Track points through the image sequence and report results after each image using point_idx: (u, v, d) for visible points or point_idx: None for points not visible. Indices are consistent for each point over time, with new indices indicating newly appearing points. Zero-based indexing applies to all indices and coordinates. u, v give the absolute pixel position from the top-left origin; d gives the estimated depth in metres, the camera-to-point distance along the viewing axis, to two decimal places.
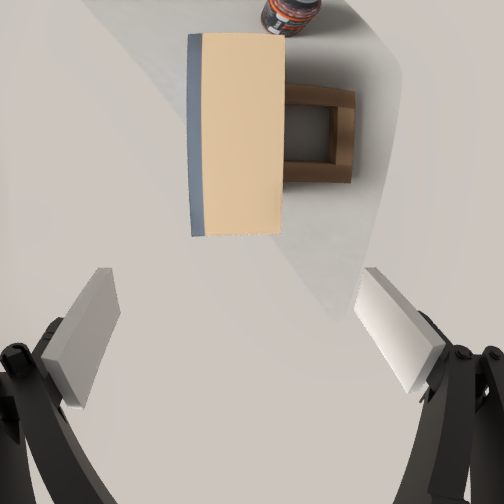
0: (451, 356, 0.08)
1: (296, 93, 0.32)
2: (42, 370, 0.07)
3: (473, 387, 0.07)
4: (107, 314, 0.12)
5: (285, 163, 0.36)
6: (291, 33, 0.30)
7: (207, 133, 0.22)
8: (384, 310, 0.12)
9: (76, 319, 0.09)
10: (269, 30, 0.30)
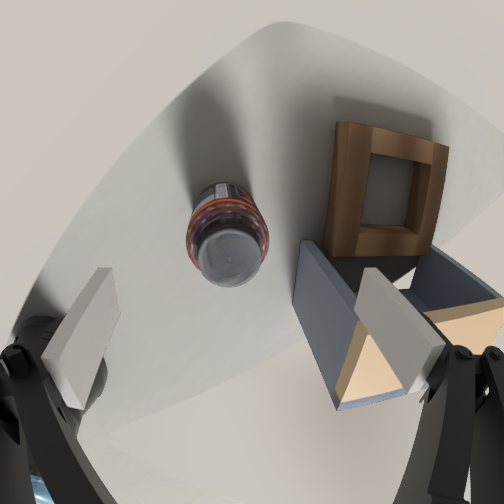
0: (451, 356, 0.08)
1: (351, 209, 0.26)
2: (42, 370, 0.07)
3: (473, 387, 0.07)
4: (107, 314, 0.12)
5: (421, 226, 0.28)
6: None
7: None
8: (384, 310, 0.12)
9: (76, 319, 0.09)
10: None
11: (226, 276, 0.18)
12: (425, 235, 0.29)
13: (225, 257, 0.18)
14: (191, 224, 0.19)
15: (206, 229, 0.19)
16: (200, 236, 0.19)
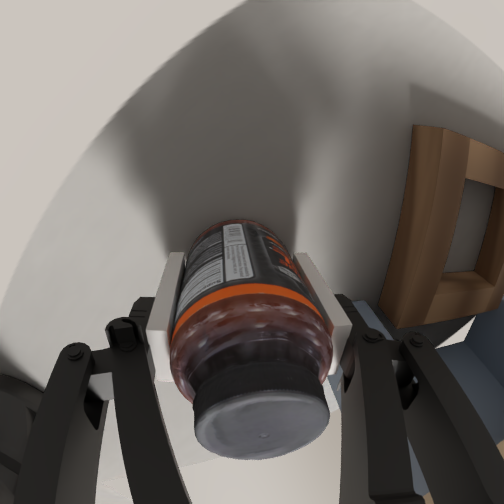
0: (359, 342, 0.09)
1: (431, 264, 0.16)
2: None
3: (392, 371, 0.08)
4: None
5: (499, 275, 0.17)
6: None
7: None
8: None
9: (170, 295, 0.11)
10: None
11: (255, 451, 0.08)
12: (500, 286, 0.18)
13: (255, 433, 0.07)
14: (177, 341, 0.09)
15: (211, 365, 0.08)
16: (197, 375, 0.08)
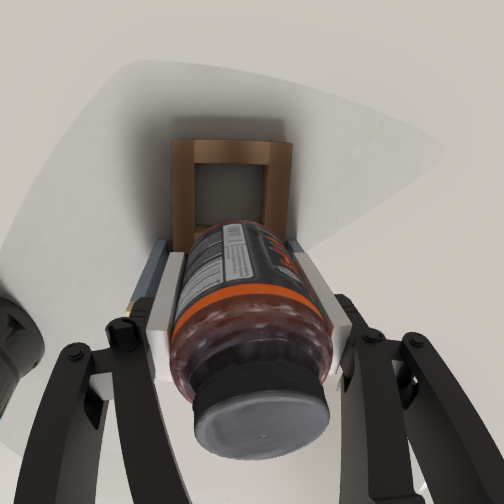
0: (359, 342, 0.09)
1: (182, 213, 0.32)
2: None
3: (392, 371, 0.08)
4: None
5: (265, 225, 0.33)
6: None
7: None
8: None
9: (170, 295, 0.11)
10: None
11: (255, 452, 0.07)
12: None
13: (255, 433, 0.07)
14: (177, 342, 0.09)
15: (210, 366, 0.08)
16: (197, 375, 0.08)
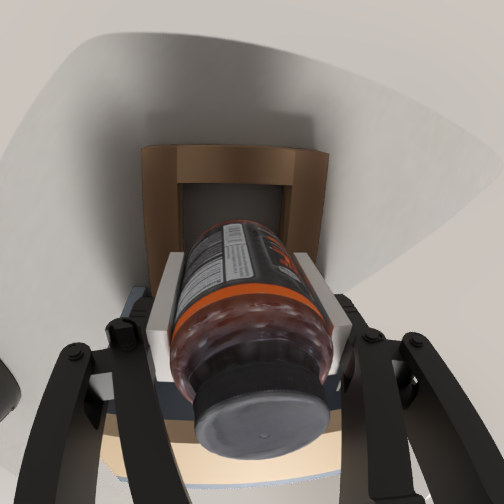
0: (359, 342, 0.09)
1: (162, 258, 0.21)
2: None
3: (392, 371, 0.08)
4: None
5: None
6: None
7: (243, 481, 0.15)
8: None
9: (170, 295, 0.11)
10: None
11: (255, 452, 0.07)
12: None
13: (255, 433, 0.07)
14: (177, 341, 0.09)
15: (211, 366, 0.08)
16: (197, 375, 0.08)
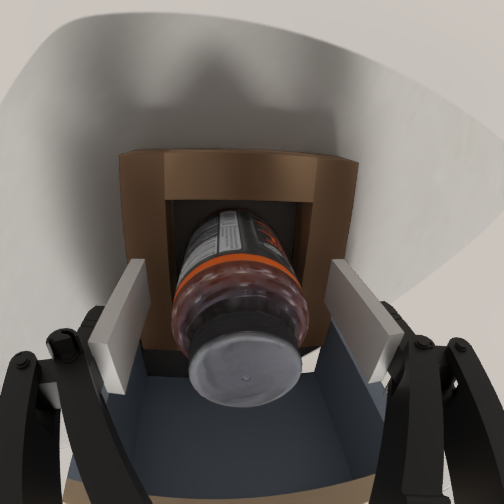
0: (410, 347, 0.09)
1: (150, 291, 0.17)
2: (86, 355, 0.08)
3: (437, 377, 0.07)
4: (142, 303, 0.13)
5: None
6: None
7: None
8: (348, 299, 0.13)
9: (119, 305, 0.10)
10: None
11: (239, 396, 0.10)
12: (312, 320, 0.19)
13: (238, 375, 0.09)
14: (177, 300, 0.11)
15: (204, 317, 0.10)
16: (193, 326, 0.10)
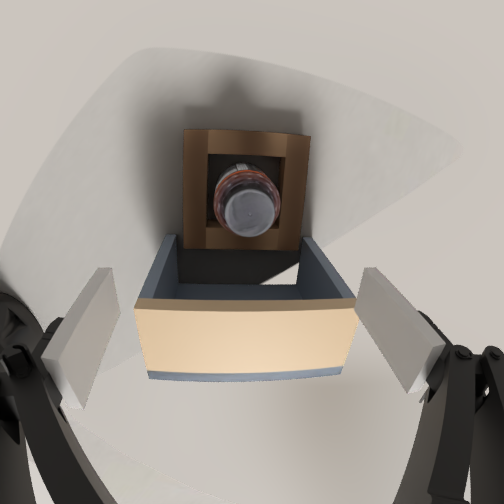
0: (451, 356, 0.08)
1: (194, 206, 0.30)
2: (42, 370, 0.07)
3: (473, 387, 0.07)
4: (107, 314, 0.12)
5: (280, 220, 0.32)
6: None
7: (248, 369, 0.24)
8: (384, 310, 0.12)
9: (76, 319, 0.09)
10: None
11: (246, 227, 0.23)
12: (288, 229, 0.32)
13: (246, 212, 0.23)
14: (219, 188, 0.24)
15: (232, 191, 0.23)
16: (226, 197, 0.24)
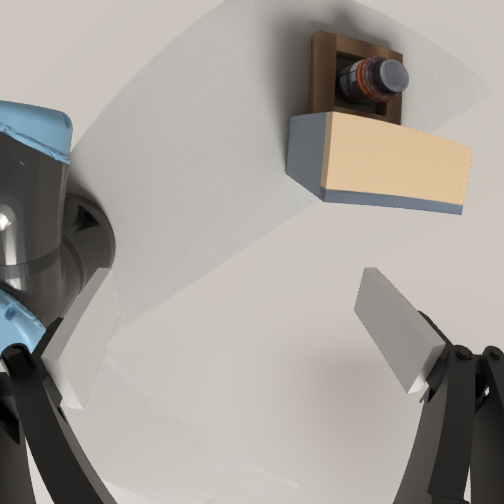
0: (451, 356, 0.08)
1: (325, 87, 0.32)
2: (42, 370, 0.07)
3: (473, 387, 0.07)
4: (107, 314, 0.12)
5: (387, 109, 0.33)
6: None
7: (408, 192, 0.25)
8: (384, 310, 0.12)
9: (76, 319, 0.09)
10: None
11: (393, 83, 0.24)
12: (392, 118, 0.34)
13: (393, 73, 0.24)
14: (364, 62, 0.26)
15: (377, 62, 0.25)
16: (373, 65, 0.25)
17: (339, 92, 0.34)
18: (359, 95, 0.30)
